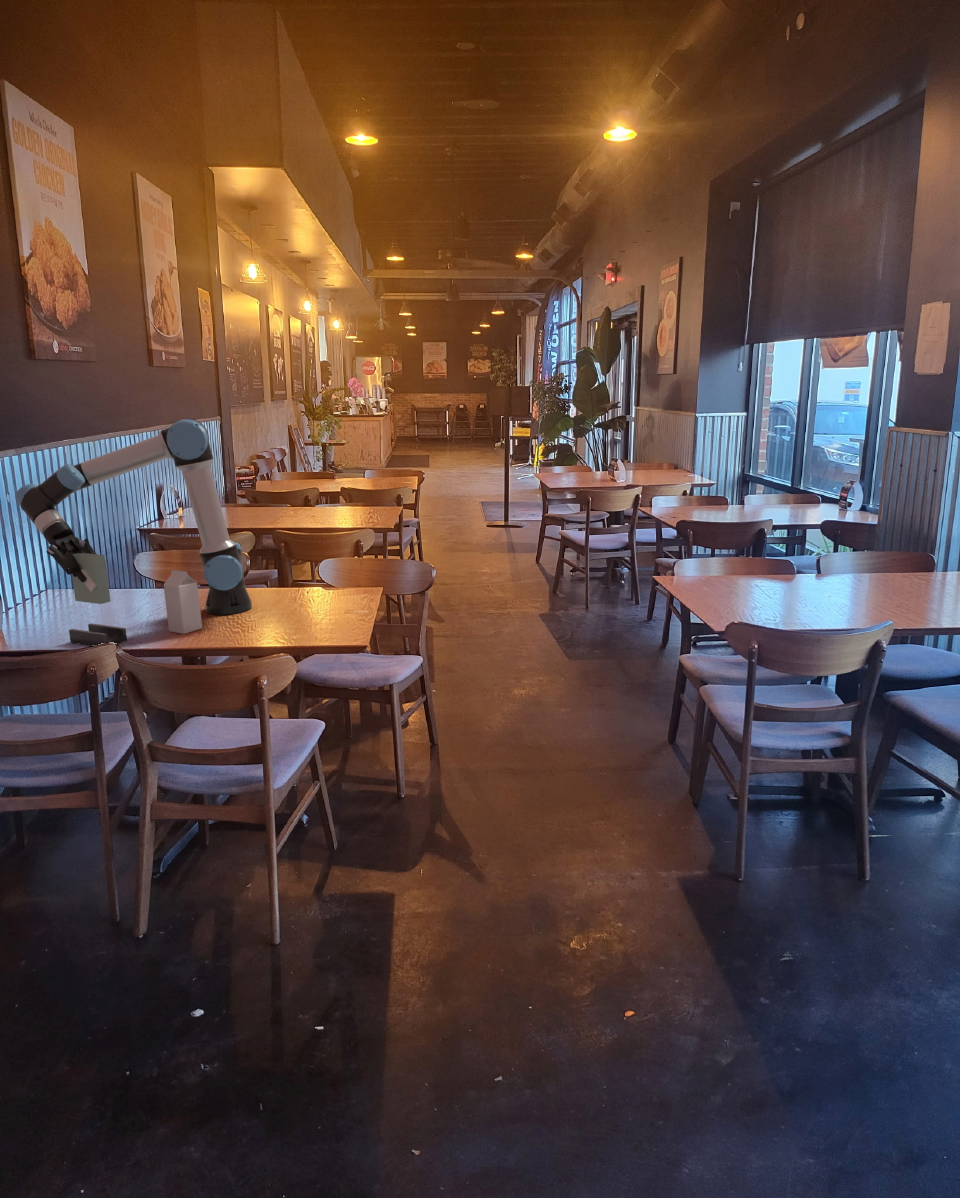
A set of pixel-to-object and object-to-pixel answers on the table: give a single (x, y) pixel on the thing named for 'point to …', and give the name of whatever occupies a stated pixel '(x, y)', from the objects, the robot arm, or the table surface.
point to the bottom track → (98, 635)
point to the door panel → (97, 573)
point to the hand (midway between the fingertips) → (99, 587)
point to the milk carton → (182, 603)
